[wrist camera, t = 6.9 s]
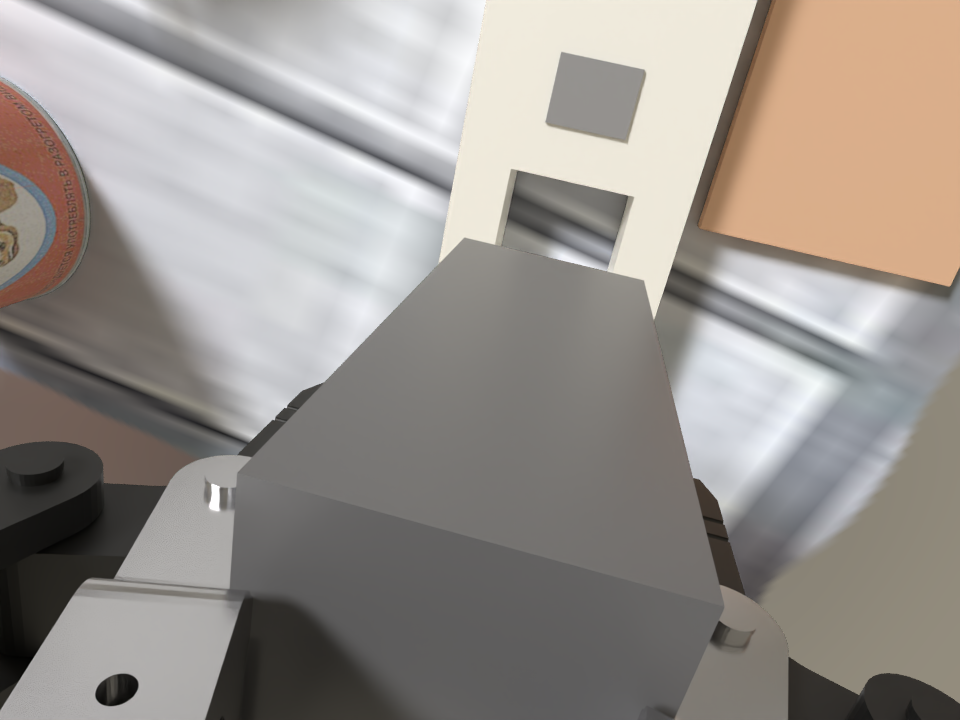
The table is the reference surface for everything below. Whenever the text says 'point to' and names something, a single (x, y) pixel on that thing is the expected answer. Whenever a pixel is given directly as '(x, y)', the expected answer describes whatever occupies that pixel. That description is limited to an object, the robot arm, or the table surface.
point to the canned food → (37, 201)
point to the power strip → (597, 114)
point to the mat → (849, 137)
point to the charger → (481, 513)
